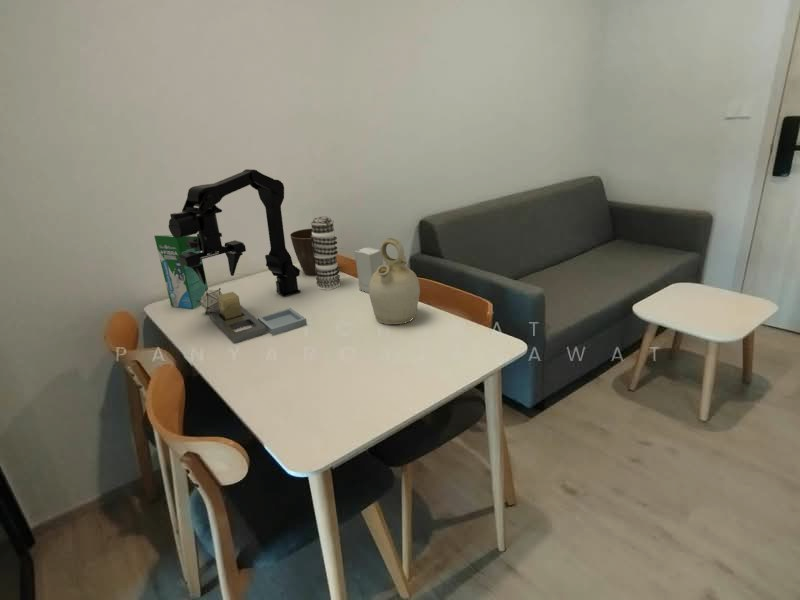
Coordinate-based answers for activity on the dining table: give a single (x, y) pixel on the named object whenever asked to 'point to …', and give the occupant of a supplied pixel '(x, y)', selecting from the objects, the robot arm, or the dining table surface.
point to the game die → (210, 300)
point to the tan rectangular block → (229, 306)
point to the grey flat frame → (235, 323)
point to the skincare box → (367, 265)
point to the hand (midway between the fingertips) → (218, 279)
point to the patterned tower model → (325, 253)
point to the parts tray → (282, 321)
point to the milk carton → (179, 272)
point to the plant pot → (304, 250)
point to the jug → (394, 288)
